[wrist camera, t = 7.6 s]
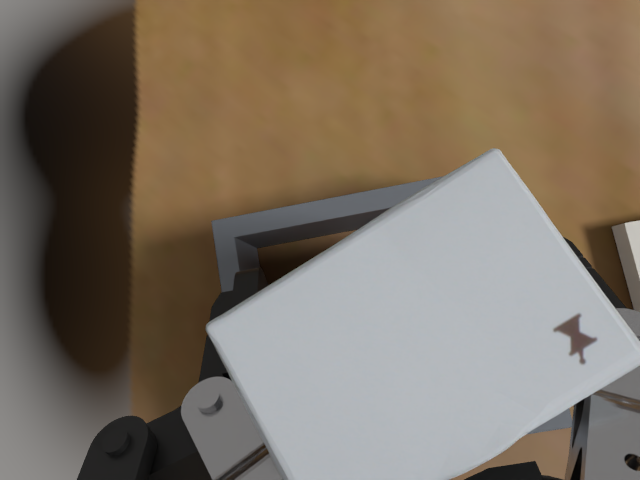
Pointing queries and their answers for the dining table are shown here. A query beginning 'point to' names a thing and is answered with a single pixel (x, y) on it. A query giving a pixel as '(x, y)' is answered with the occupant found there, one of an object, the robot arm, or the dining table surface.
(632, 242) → the pale tile
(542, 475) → the robot arm
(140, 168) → the dining table surface
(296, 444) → the skincare box
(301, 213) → the gray rectangular frame
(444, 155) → the dining table surface
